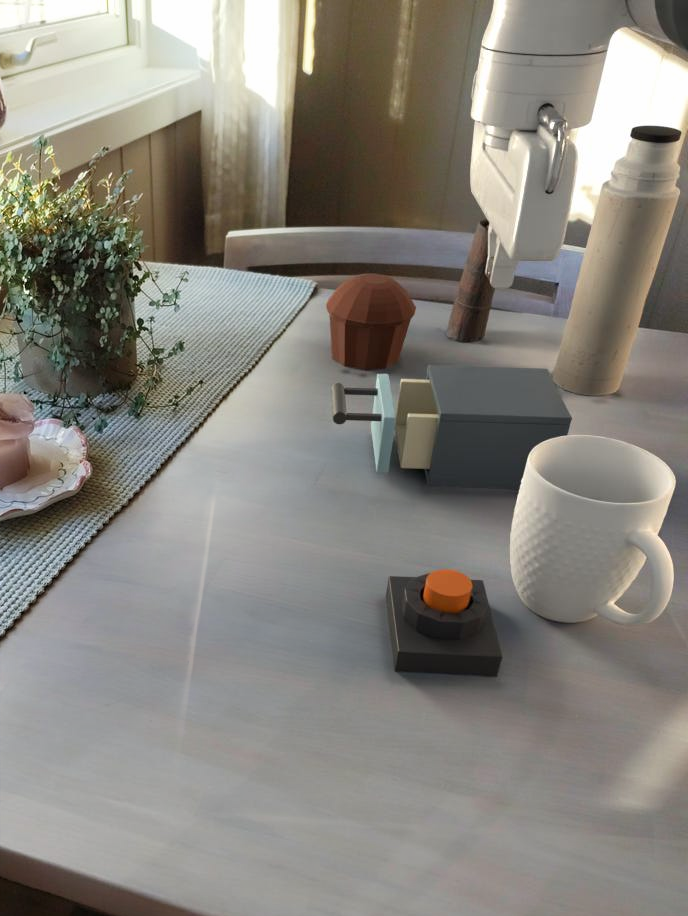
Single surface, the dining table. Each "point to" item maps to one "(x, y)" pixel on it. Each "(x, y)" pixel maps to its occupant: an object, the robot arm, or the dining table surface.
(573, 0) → the robot arm
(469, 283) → the butter churn
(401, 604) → the control block
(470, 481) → the dispenser
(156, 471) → the dining table surface
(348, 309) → the muffin
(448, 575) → the button
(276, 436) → the dining table surface
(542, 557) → the mug
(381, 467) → the tray
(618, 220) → the thermos bottle
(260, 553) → the dining table surface
